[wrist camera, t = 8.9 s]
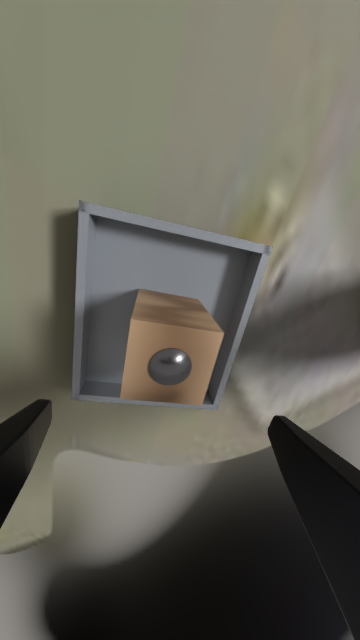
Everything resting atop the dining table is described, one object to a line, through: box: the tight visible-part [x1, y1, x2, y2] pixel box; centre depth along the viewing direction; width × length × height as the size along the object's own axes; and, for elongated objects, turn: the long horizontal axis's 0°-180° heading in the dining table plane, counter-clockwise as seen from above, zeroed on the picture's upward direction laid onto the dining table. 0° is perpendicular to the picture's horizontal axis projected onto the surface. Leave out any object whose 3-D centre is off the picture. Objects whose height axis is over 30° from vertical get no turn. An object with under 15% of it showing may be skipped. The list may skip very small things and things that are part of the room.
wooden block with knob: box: [120, 289, 224, 405], centre depth 15 cm, size 5×5×7 cm
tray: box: [71, 200, 272, 410], centre depth 17 cm, size 13×15×2 cm
